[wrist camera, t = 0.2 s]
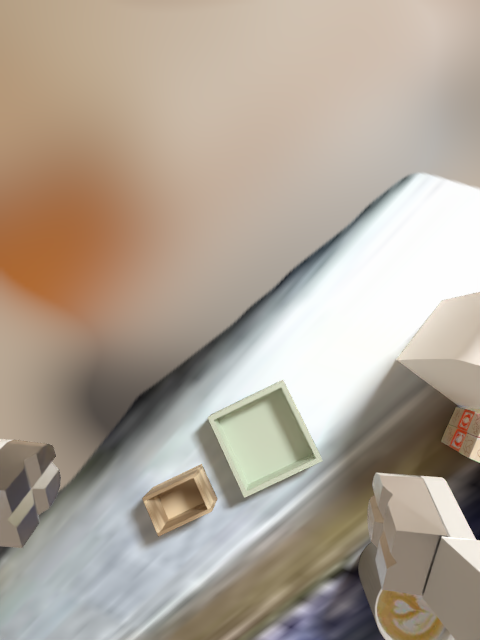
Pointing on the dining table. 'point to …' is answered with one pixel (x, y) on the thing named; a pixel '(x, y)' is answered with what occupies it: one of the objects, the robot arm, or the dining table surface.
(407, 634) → the coffee mug
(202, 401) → the dining table surface
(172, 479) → the pine crate
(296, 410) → the sage crate
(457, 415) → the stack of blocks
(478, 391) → the milk
